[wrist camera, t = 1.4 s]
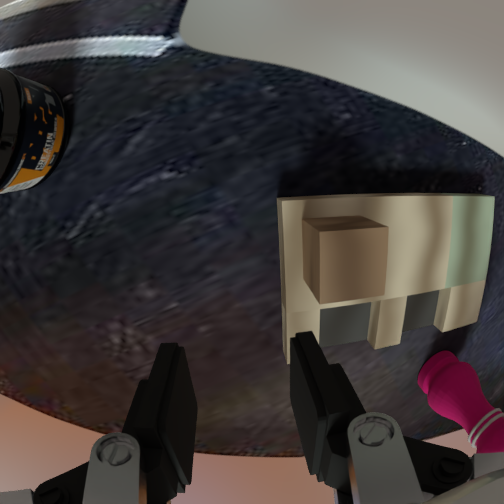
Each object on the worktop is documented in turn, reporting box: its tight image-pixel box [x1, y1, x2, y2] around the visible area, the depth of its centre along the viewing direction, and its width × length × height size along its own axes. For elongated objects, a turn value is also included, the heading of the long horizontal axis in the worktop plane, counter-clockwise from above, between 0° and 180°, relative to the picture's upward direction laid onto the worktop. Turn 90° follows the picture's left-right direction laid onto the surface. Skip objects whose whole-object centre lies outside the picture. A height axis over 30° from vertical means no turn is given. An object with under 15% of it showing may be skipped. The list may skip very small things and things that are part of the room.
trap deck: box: [277, 193, 494, 364], centre depth 27 cm, size 24×15×2 cm, turn 94°
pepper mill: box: [418, 351, 504, 454], centre depth 23 cm, size 7×7×20 cm
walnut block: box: [302, 215, 389, 304], centre depth 22 cm, size 5×5×5 cm
